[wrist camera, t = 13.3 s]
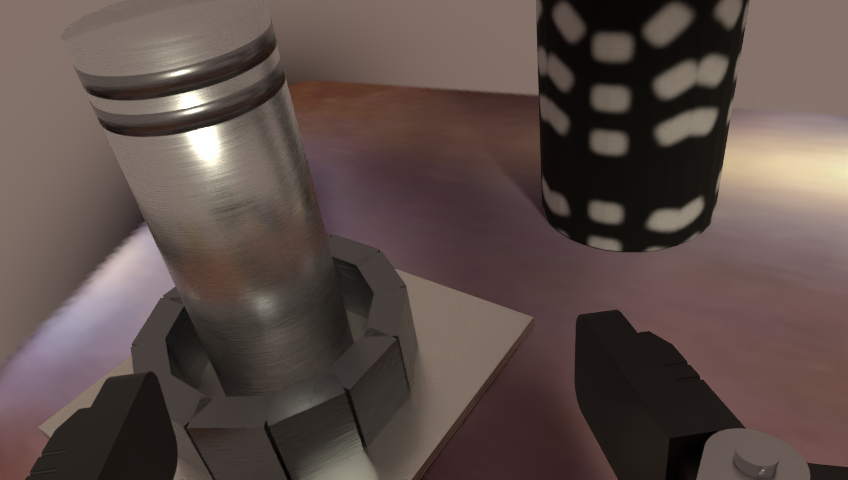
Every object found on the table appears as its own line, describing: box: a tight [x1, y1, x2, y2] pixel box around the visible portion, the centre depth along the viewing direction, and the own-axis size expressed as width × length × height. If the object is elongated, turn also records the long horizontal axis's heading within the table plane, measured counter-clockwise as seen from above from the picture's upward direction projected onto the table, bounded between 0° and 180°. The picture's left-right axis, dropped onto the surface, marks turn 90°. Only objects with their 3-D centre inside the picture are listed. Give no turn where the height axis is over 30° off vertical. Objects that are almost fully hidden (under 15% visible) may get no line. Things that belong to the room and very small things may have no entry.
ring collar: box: [38, 234, 534, 480], centre depth 24 cm, size 14×14×4 cm
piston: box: [62, 0, 354, 397], centre depth 21 cm, size 5×5×14 cm
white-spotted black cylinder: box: [536, 0, 749, 252], centre depth 26 cm, size 8×8×20 cm
